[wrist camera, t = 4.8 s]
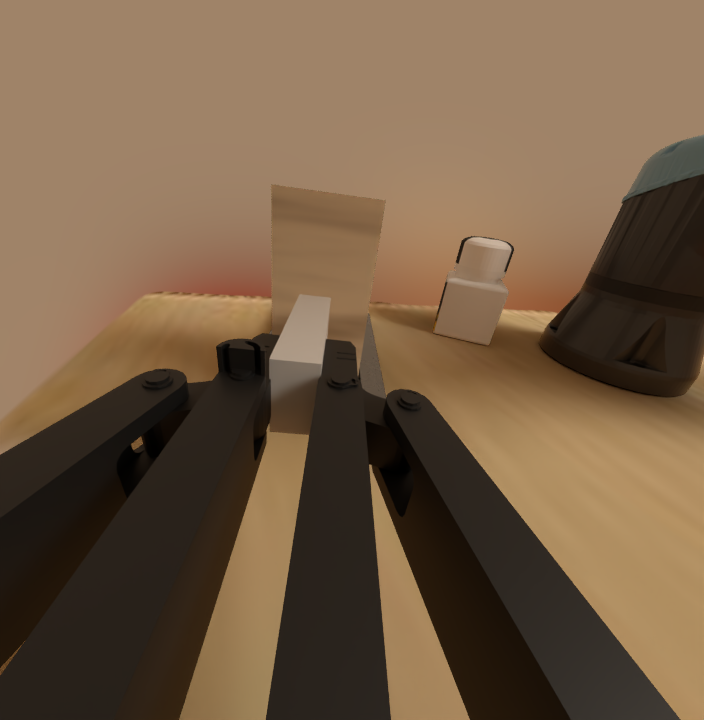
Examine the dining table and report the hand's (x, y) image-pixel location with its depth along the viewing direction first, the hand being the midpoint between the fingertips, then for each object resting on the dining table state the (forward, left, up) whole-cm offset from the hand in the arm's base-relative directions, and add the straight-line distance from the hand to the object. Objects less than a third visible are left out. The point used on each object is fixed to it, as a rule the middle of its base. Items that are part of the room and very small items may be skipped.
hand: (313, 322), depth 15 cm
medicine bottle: (-25, -16, -9) cm, 31 cm away
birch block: (-2, -7, -7) cm, 10 cm away
